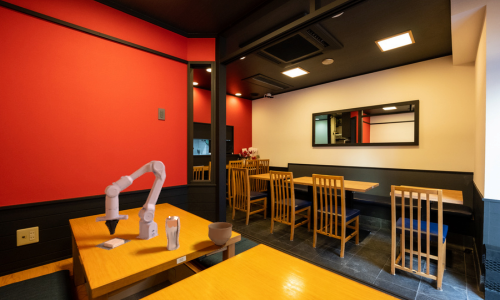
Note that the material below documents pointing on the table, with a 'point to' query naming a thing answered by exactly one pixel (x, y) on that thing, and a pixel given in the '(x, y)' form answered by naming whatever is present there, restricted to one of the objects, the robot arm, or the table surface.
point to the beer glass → (172, 232)
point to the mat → (110, 247)
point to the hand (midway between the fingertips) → (112, 234)
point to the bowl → (220, 232)
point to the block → (114, 243)
